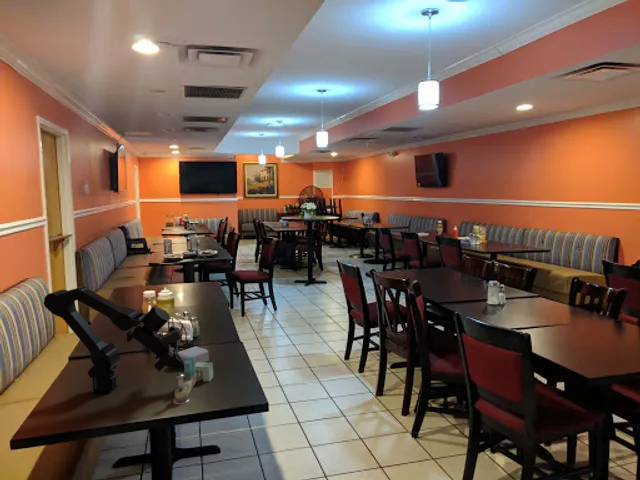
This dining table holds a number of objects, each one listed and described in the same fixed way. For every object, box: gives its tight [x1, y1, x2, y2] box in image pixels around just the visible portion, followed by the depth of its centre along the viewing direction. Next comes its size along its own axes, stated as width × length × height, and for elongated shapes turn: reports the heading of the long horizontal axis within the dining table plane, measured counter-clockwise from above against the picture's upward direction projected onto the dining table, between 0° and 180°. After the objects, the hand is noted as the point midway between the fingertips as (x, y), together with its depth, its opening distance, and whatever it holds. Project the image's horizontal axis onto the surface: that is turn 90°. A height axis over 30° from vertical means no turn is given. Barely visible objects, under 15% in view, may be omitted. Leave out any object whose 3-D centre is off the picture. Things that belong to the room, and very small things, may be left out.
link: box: [174, 356, 201, 402], centre depth 159 cm, size 21×4×9 cm, turn 0°
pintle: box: [172, 372, 191, 405], centre depth 151 cm, size 5×5×9 cm
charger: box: [177, 346, 210, 364], centre depth 181 cm, size 5×9×15 cm
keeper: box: [195, 361, 214, 382], centre depth 168 cm, size 6×4×5 cm
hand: (185, 367), depth 161 cm, fingers closed
